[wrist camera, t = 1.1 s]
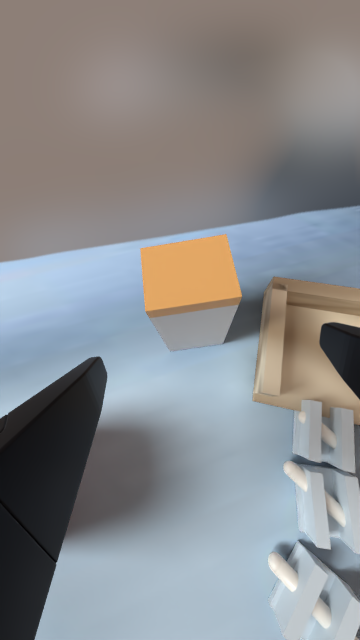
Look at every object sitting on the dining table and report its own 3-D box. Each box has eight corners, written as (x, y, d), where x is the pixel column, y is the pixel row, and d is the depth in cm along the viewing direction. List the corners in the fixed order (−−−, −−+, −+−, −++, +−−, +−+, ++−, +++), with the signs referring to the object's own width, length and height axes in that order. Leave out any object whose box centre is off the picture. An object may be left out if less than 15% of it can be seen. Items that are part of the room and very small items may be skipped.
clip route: (376, 421, 17) (397, 423, 15) (361, 675, 13) (389, 721, 11) (291, 393, 18) (302, 392, 17) (252, 616, 14) (260, 650, 12)
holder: (389, 432, 17) (427, 438, 14) (252, 400, 19) (261, 400, 16) (379, 310, 20) (408, 295, 17) (264, 292, 22) (273, 276, 19)
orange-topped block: (222, 343, 20) (242, 296, 11) (170, 351, 21) (145, 311, 11) (214, 305, 22) (226, 234, 13) (165, 312, 22) (140, 248, 13)
